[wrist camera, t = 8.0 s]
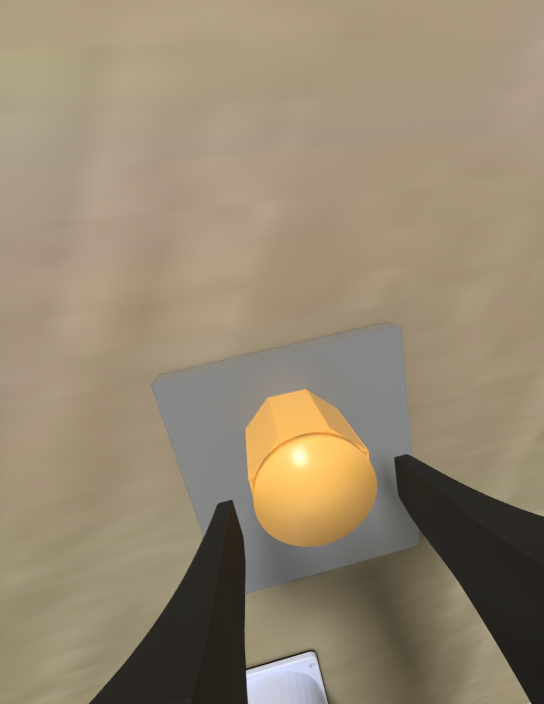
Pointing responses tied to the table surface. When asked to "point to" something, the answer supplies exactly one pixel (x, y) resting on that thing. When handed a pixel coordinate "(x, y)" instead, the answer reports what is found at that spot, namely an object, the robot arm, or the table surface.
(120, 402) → the table surface
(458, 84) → the table surface
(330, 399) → the plate
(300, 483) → the orange acorn nut
